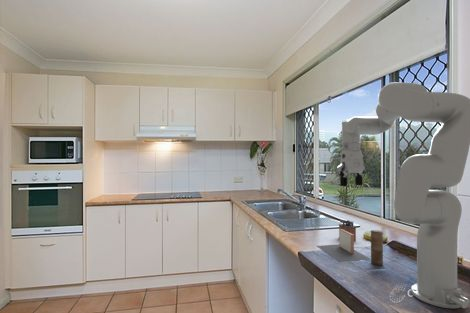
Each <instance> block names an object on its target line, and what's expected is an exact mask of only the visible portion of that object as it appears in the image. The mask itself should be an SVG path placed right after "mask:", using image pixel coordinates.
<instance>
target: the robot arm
mask: <svg viewBox="0 0 470 313" xmlns="http://www.w3.org/2000/svg"><path fill="white" fill-rule="evenodd" d="M377 101H378V102H377V104H376V107H375V114H376V116H353V117H351V118H349V119H344V120H343V121H342V123H341V149H342V150H341V151H340V152H341V154H340V161H339V162H340V164H339V165H337V167H336V171H337V174H338V177H339V180H340V183H339V184H340V185H339V186H341V187H348V177H347V175H348V174H355V177H354V178H355V181H354V182H355V183H354V184H355V186H363V177H364V173H365V170H366V166H365V165H364V157H363V152H362V150H361V136H363V135H365V136H373V135H374V136H375V135H376V136H377V135H380V134H382V133H385V132H386V131H389V130H390V129H392V127H394V125H395V124H396V120H398V119H400V118H401V119H404V120H407V121H409V122H413V123H414V122H417V123H419V122H420V123H422V122H423V123H441V125H440V126H439V127H438V129H437V130H436V131H435V133H434V134H433V136H432V138H431V143H430V147H429V151H428V153H425V154H414V155H410V156H408V157H407V158H406V159H405V160H404V161H403V162H402V164H401V166H400V169H399V172H398V178H397V184H396V189H395V195H394V201H393V208H394V213H395V215H396V216H397V218H398V219H399V220H400V221H401V222H403V223H405V224H409V225H419V227H418V229H417V234H416V283H415V284H412V285H411V287H410V293H411V294H412V295H413V296H414V297H415V298H417V299H418V300H420V301H422V302H424V303H425V304H429V305H432V306H435V307H437V308H438V307H440V308H445V309H461V308H462V309H467V307H469V306H468V305H469V304H470V298H467V297H466V296H463V295H462V288H460V287H458V231H459V225H460V223H461V222H460V220H461V218H462V217H461V216H462V204H461V202H460V200H459V198H458V197H457V196H456V195H455V194H453V193H452V192H450V191H447V190H442V189H443V188H451V187H455V186H457V185H459V184H460V183H461V181H462V179H463V176H464V171H465V168H466V164H467V159H468V156H469V152H470V98H469V97H467V96H466V95H463V94H459V93H454V92H445V91H444V92H442V91H441V92H440V91H439V92H438V91H437V92H436V91H428V90H427V88H426V87H425V86H423V85H422V84H419V83H415V82H401V81H400V82H399V81H398V82H397V81H396V82H395V81H394V82H389V83H387V84H385V85H383V87H382V88H380V91H379V92H378V95H377ZM435 188H437V189H435ZM440 188H442V189H440Z"/></svg>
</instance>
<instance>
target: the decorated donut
mask: <svg viewBox="0 0 470 313" xmlns="http://www.w3.org/2000/svg"><path fill="white" fill-rule="evenodd" d="M362 236H363V239H364V240H367V241H370V242H371V230H369V231H368V230H367V231H364V232H363V235H362ZM388 237H389V236H388V235H387V234H386V233H383V244H384V243H386V242H388V241H389V240H388Z"/></svg>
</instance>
